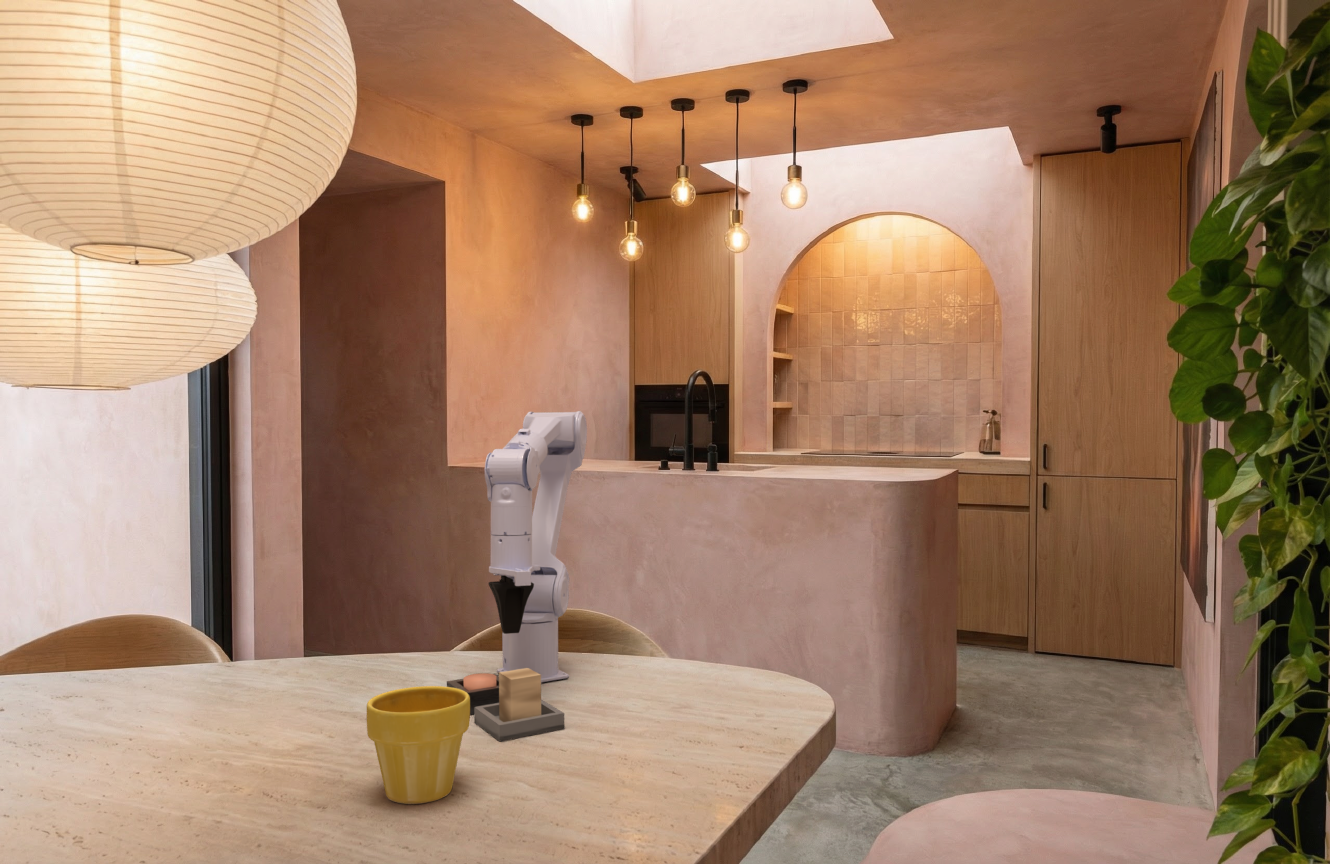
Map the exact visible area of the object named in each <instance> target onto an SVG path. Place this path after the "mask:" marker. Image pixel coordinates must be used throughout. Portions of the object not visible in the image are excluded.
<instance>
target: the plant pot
mask: <svg viewBox="0 0 1330 864" xmlns="http://www.w3.org/2000/svg"><path fill="white" fill-rule="evenodd" d="M470 717H471V715H470V697H469V695H468V693H467V692H465V691H463V690H460V689H457V688H451V687H447V686H442V685H441V686H440V685H438V686H437V685H426V686H425V685H423V686H411V687H405V688H404V687H403V688H397V689H393V690H390V691H386V692H383V693H380V694H377V695H375V696H373V697H371V698H370V699H369V700H368V701H367V703H366V731H367V732H366V733H367V737H368V738H369V739H370V740H371V741H372V742H374V747H375V751H376V756H377V760H378V765H379V769H380V774H381V778H382V783H383V788H384V791H385V796H386V798H388V800H389V801H392V802H395V803H398V804H402V805H403V804H405V805H418V804H420V805H421V804H426V803H430V802H435V801H437V800H441V799H442V798H444V797H446V796H448V795H449V794H450V793H451V792H452V788H453V786H454V779H455V775H456V774H455V773H456V769H457V766H458V765H457V764H458V760H459V756H460V749H461V747H462V741H463V736H464V734H465V733H466V732H467V731H468V730H469V728H470V720H471V719H470Z"/></svg>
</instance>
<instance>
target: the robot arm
mask: <svg viewBox="0 0 1330 864" xmlns="http://www.w3.org/2000/svg"><path fill="white" fill-rule="evenodd" d="M587 441H588V426H587V418H586V416H585V414H584V412H582V411H581V410H578V411H563V412H559V411H556V412H553V411H552V412H548V411H547V412H545V411H544V412H534V411H528V412H527V413H526V414H525V416H524V417H523V422H522V428H520V429H518V431H517V433H516V434H515V435H513V437H511V439H510V440H509V441H508V442H507V443H506V444H505V445H504V446H503V448H495V449H493V451H492V452H489V453H487V455H486V458H485V463H484V480H485V484H486V489H487V494H486V496H487V497H486V498H487V501H488V502H490V565H489V566H488V573H490V574H492V575H493V576H499V577H500V579H499V580H498V581H495V580H494V581H489V582H488V586H489V588H490V590H491V593H492V594H493V597H494V600H495V603H496V608H497V613H498V618H499V623H500V628H501V631H502V633H501V634H502V638H501V639H502V640H501V641H502V667H500V668H497V669H496V672H497V673H498V674H499V672H505V671H512V670H518V669H524V668H529V669H531V670H533V671H535V672H537V673H539V674H540V675H541V683H546V682H551V681H552V682H553V681H557V680H562V679H563V680H564V679H568V678H569V677H570V675H569V673H567V672H565V671H563V670H560V669H559V617H563V615H564V614H565V613H566V611H567V609H568V606H569V599H570V597H569V596H570V590H569V589H570V587H569V586H570V575H569V574H570V573H569V570H568V569H567V566H566V565H565V563H564V562H563V561H561V560H559V558H558V557H557V556H556V555H557V549H558V544H559V543H558V542H559V539H560V538H559V537H560V533H561V527H562V522H563V515H564V511H565V505H566V500H567V494H568V488H569V484H570V482H571V481H570V480H571V477H572V473H573V472H574V471H575V470H577V469H578V468H580V467H582V466H583V465H582V464H583V460H584V458H585V454H586V453H585V452H586V446H587ZM538 478H539V482H538ZM537 484H538V485H537ZM536 487H537V490H536V497H535V501H534V506H533V490H534V489H536Z"/></svg>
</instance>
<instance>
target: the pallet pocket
mask: <svg viewBox="0 0 1330 864" xmlns="http://www.w3.org/2000/svg"><path fill="white" fill-rule="evenodd" d="M473 717H474V718H473V719H474V721H473V722H474V723H475V725H477V727H480V728H481V729H482V730H483V731H484V732H486V733H488V734H489V735H490V736H491V737H493V738H494V739H495V740H497V741H498V742H507V741H510V740H516V739H521V738H522V739H523V738H527V737H530V736H531V737H532V736H537V735H542V734H546V733H550V732H556V731H560V730H564V729H565V712H563V710H562V711H561V710H560V709H559V708H556V707H555V706H554V705H552V704H550V703H548V702H547V701H545V700H544V699H542V698H541V715H540V716H534V717H529V718H524V719H518V720H513V721H508V722H502V721H501V720H500V719H499V703H495V704H489V705H484V706H478V707H474V716H473Z"/></svg>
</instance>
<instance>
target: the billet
mask: <svg viewBox="0 0 1330 864" xmlns="http://www.w3.org/2000/svg"><path fill="white" fill-rule="evenodd" d="M498 676H499V719H500V720H501V721H502V722H508V721H513V720H518V719H524V718H529V717H534V716H540V715H541V699H542V682H541V675H540V674H539V673H537V672H535V671H533V670H531V669H529V668H524V669H518V670H512V671H505V672H499V673H498Z"/></svg>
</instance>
